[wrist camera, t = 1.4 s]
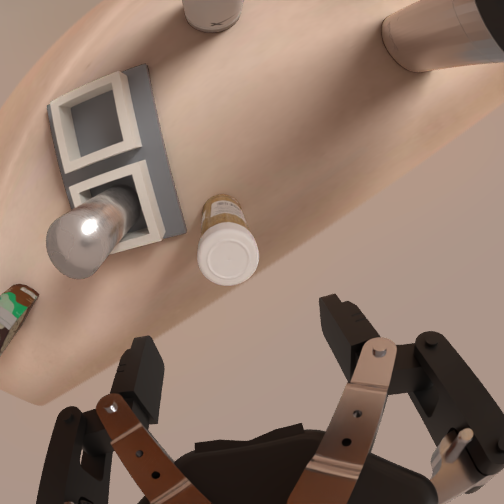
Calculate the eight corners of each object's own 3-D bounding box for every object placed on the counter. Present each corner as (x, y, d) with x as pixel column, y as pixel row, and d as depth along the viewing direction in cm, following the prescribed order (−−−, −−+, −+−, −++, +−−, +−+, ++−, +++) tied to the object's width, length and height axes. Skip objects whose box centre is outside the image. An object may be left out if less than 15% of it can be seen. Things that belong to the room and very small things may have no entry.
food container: (15, 260, 31) (-23, 293, 22) (43, 288, 34) (10, 327, 24) (-5, 306, 33) (-35, 339, 24) (19, 330, 36) (-8, 367, 26)
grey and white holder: (147, 65, 26) (138, 56, 22) (187, 230, 33) (183, 242, 30) (50, 106, 25) (33, 104, 21) (92, 255, 33) (80, 269, 29)
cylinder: (134, 179, 29) (88, 206, 18) (147, 221, 31) (111, 271, 19) (96, 192, 29) (37, 226, 17) (109, 232, 31) (61, 284, 19)
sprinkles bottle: (195, 218, 33) (184, 268, 21) (217, 185, 32) (219, 217, 20) (227, 238, 35) (236, 298, 22) (250, 207, 33) (272, 251, 21)
